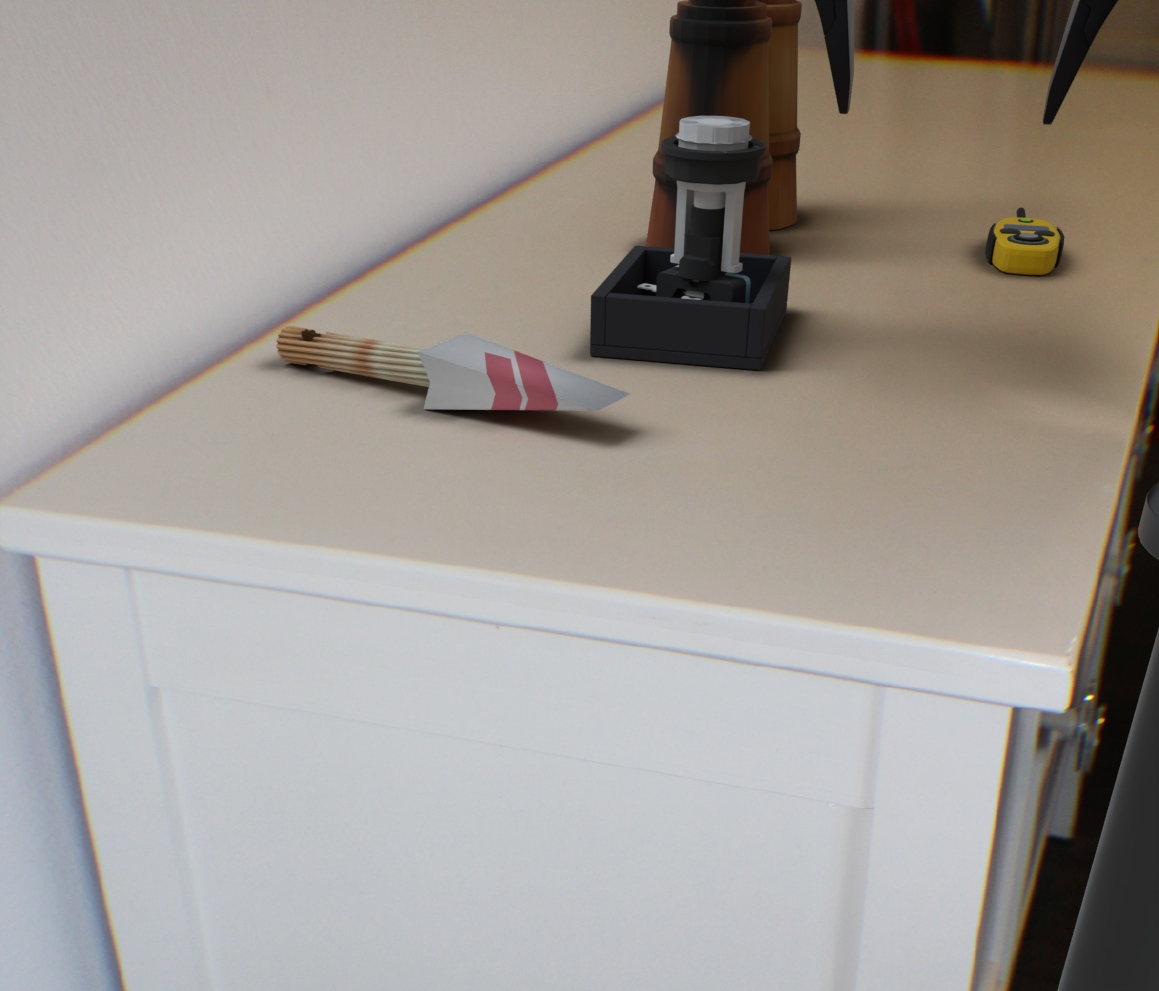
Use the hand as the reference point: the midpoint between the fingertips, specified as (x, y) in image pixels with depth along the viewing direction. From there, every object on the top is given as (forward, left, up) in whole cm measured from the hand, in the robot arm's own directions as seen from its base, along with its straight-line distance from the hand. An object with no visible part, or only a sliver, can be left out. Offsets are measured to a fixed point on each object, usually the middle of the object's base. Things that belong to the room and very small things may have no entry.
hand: (944, 118), depth 66 cm
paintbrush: (+22, +9, -12) cm, 27 cm away
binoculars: (+14, -29, -12) cm, 34 cm away
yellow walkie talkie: (-6, -31, -12) cm, 33 cm away
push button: (+12, -5, -12) cm, 17 cm away
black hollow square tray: (+12, -5, -12) cm, 18 cm away
